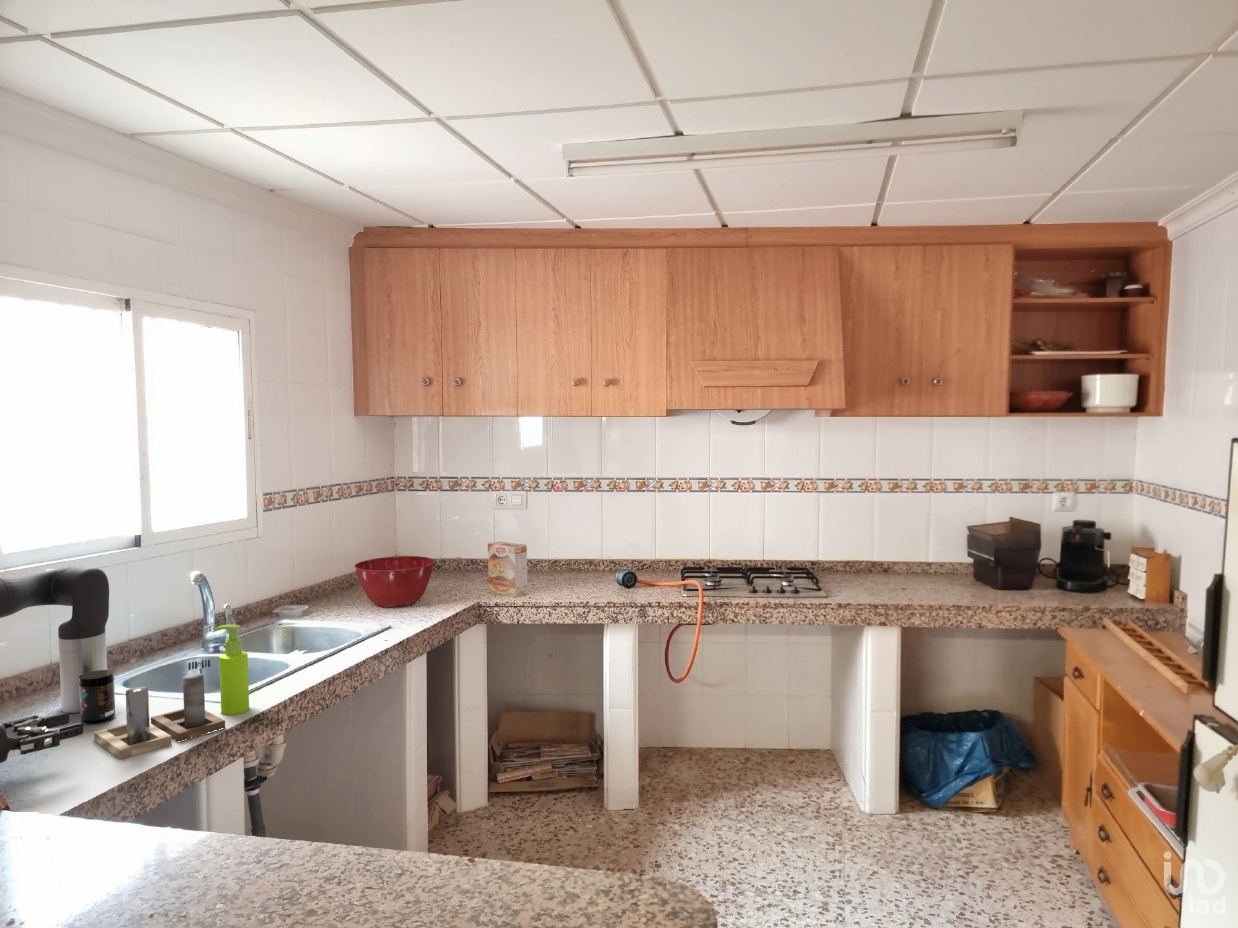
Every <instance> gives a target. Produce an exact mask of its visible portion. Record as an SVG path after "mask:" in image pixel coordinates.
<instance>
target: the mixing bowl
mask: <svg viewBox="0 0 1238 928" xmlns="http://www.w3.org/2000/svg"><path fill="white" fill-rule="evenodd" d="M435 562H436V561H435V559H433V558H431V557H428V556H427V557H426V556H418V555H417V556H415V555H398V556H397V555H396V556H384V557H377V558H371V559H366V560H362V561H359V562H357V563H355V564H354V566H353V567H354V569H355V572H356V575H357V578H358V580H359V583H360V585H361V587H362V589H363V591H364V593H365V595H366V597H367V598H368V599H369V601H370V602H372V603H373V604H374V605H376V606H378V607H379V608H380V607H381V608H386V609H389V608H390V609H391V608H392V609H393V608H394V609H395V608H398V609H399V608H404V607H409V606H412V605H414V604H415V603H416V602H418V601H419V600H420V599H421V598H422V597H423V595H424V593H425V591H426V589H427V588H428V584H429V582H430V579H431V577H432V573H433V568H434V564H435Z"/></svg>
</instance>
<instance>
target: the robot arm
mask: <svg viewBox="0 0 1238 928" xmlns="http://www.w3.org/2000/svg"><path fill="white" fill-rule="evenodd" d="M38 606H39V607H40V606H41V607H42V606H66V607H72V608H71V609H72V610H71V618H70V619H69V620H68V621H64V622H63V623H61V624H59V626H58V629H57V631H58V632H57V635H58V651H59V653H58V656H59V657H58V658H59V674H60V675H59V677H60V679H59V680H60V701H61V703H60V704H61V711H62V713H58V714H54V715H50V716H46V717H45V716H39V715H35V714H34V715H31V716H28V717H24V718H20V719H16V720H12V721H8V722H4V723H3V722H1V721H0V764H2V763H5V762H6V761H7V759H8V757H9V755H8V754H9V752H11V751H15V750H18V751H20V755H21V756H22V755H28V754H31V753H35V752H39V751H42V750H47V749H51V748H56V747H58V746H60V745H61V744H60V743H61V741H62V740H67V739H71V738H75V737H78V736H81V735H83V734H84V733H85V732H84V729H85V728H84V723H82V722H77V723H73V724H69V723H70V715H69V714H70V713H71V714H74V713H75V714H78V713H80V694H79V676H80V675H82V674H84V673H88V672H92V671H98V670H108V663H107V660H108V659H107V641H106V640H107V639H106V626H107V622H108V619H109V614H110V583H109V579H108V576H107V574H106V572H105V571H103V570H102V569H100V568H99V567H94V566H92V567H91V566H74V565H73V566H65V567H64V566H63V567H59V568H55V569H51V570H45V571H42V572H41V571H40V572H38V573H37V572H36V573H32V574H31V573H30V574H0V619H2V618H5V617H9V616H12V615H14V614H16V613H18V612H21V611H22V610H25V609H27V608H31V607H38ZM68 724H69V725H68ZM65 725H66V726H65Z"/></svg>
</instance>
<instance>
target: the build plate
mask: <svg viewBox="0 0 1238 928" xmlns="http://www.w3.org/2000/svg"><path fill="white" fill-rule="evenodd" d="M149 724H150V740H149V741H145V742H141V743H138V744H134V745H131V746H129V745H128V742H127V723H123V724H120V725H115V726H112V727H108V728H104V729H100V730H97V731H94V732H93V740H94V742H96V743H97V744H99V745H100V746H102V748H104V749H106V750H107V751H109V752H110V753H112V754H113V755H114V756H116V757H117V758H118V759H120V760H122V759H125V758H129V757H132V756H135V755H139V754H143V753H145V752H150V751H153V749H154V750H157V749H160V748H159V747H161V748H164V747H167V746H166V745H168V746H170V745H169V744H171V743H172V737H171V735H169V734H167V733H166V732H164V731H162V730H161V729H159V728H157V727H156V726H154V725H152V724H151V722H149ZM171 745H172V744H171ZM156 748H157V749H156ZM149 750H150V751H149ZM142 752H143V753H142Z"/></svg>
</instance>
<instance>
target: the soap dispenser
mask: <svg viewBox="0 0 1238 928" xmlns="http://www.w3.org/2000/svg"><path fill="white" fill-rule="evenodd" d="M213 629H214V631H217V630H228V638H227V639H226V640H225V641H224V650H225V651H224V653H223V654H220V655H219V685H220V711H221V712H220V713H221V714H222V715H226V716H235V715H241V714H243V713H247V712H248V711H249V710H250V693H249V692H250V690H249V664H248V663H249V661H248V660H249V659H248V655H249V654H248V652H246V651H242V639H241V638H240V637H238V630H240V629H241V625H240V624H222V625H219V626H216V627H214V628H213ZM247 710H248V711H247Z"/></svg>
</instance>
